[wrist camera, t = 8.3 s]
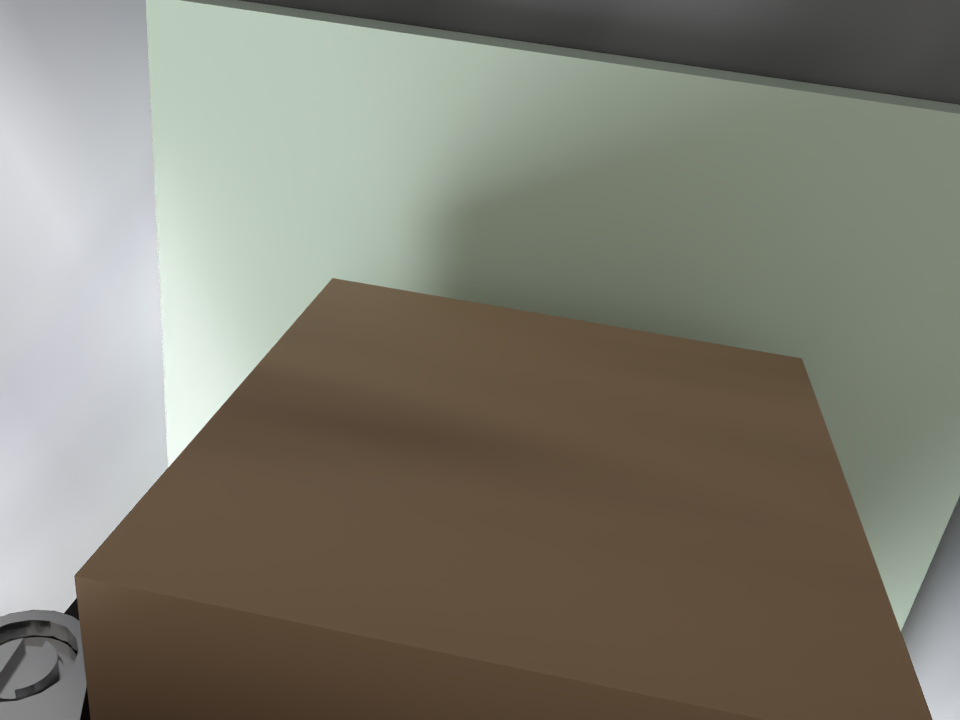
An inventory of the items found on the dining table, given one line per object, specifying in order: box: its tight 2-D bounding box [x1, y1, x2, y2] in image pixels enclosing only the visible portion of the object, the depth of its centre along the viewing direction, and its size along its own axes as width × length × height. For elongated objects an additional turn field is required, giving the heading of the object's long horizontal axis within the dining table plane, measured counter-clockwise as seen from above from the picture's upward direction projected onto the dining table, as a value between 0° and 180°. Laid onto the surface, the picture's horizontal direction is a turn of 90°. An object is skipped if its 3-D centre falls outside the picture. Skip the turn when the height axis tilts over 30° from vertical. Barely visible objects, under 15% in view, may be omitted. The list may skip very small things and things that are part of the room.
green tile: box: [146, 0, 960, 631], centre depth 14 cm, size 12×12×1 cm
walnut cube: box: [74, 278, 932, 720], centre depth 10 cm, size 6×6×6 cm
